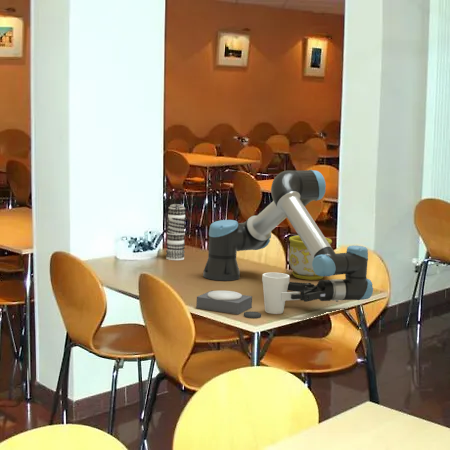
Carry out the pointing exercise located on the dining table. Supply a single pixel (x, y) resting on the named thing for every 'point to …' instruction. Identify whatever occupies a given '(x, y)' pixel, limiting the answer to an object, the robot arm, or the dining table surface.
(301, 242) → the flowerpot
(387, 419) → the dining table surface
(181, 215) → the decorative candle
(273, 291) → the foam cup
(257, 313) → the lens cap
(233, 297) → the mount
